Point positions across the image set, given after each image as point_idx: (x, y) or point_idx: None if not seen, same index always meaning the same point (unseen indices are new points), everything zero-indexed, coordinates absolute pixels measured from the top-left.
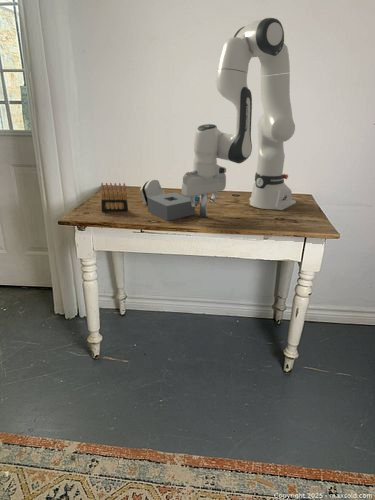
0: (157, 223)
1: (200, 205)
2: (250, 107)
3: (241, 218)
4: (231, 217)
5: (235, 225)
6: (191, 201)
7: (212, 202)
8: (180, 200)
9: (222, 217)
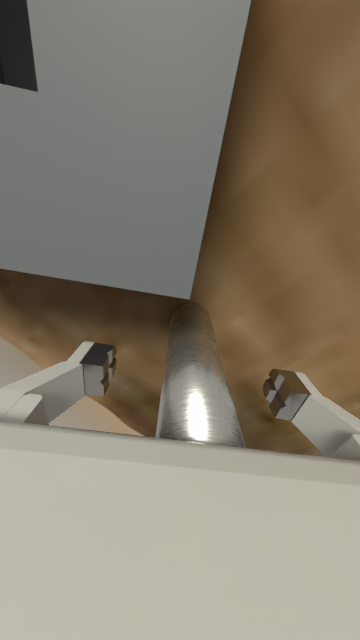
0: None
1: (165, 360)
2: None
3: (276, 424)
4: (264, 401)
5: None
6: (58, 368)
7: (266, 391)
8: (32, 174)
9: (241, 382)
